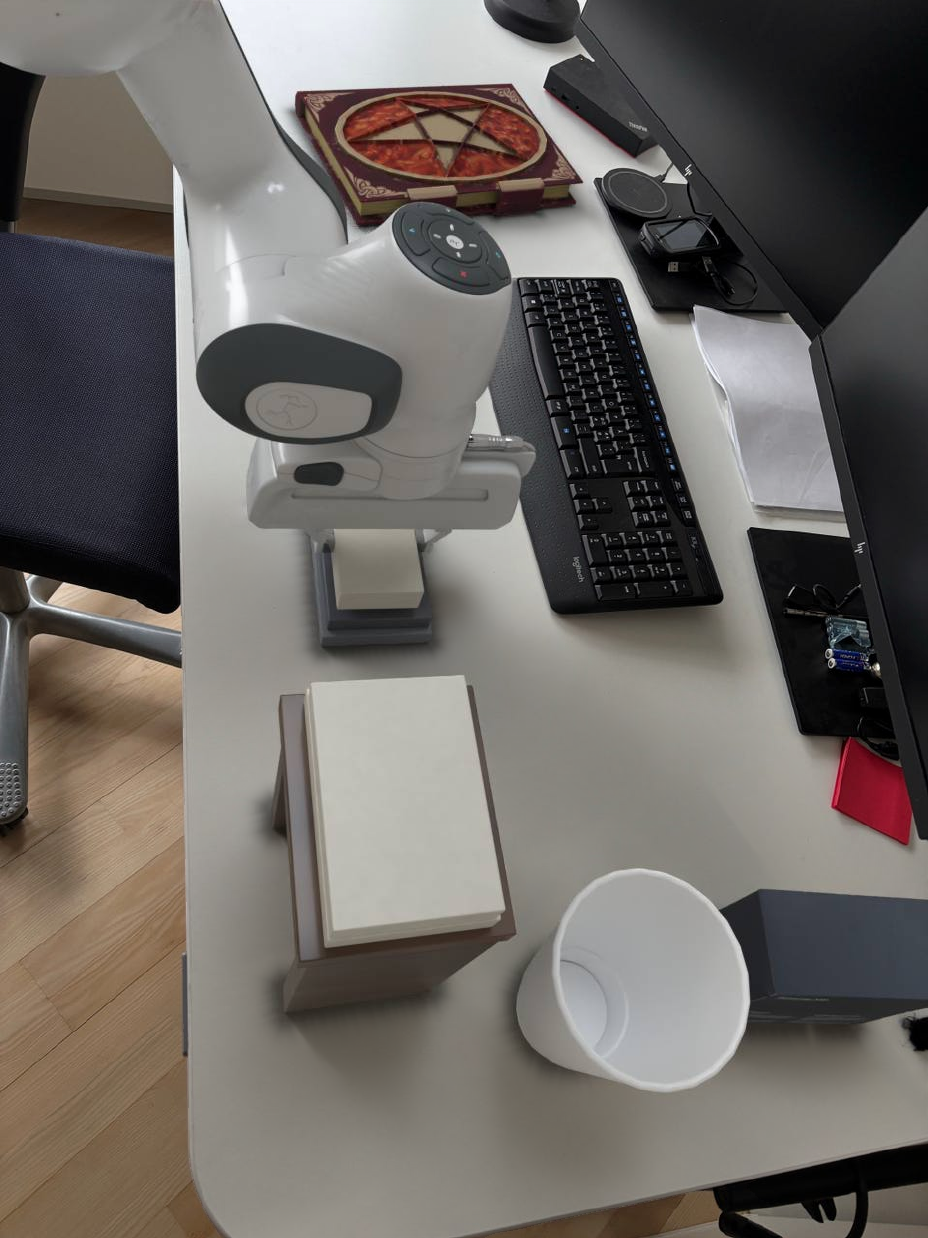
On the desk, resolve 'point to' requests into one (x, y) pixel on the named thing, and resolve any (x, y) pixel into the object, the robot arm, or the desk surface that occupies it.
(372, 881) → the white books
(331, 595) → the grey books
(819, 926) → the small box
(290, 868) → the walnut shelf
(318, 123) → the book
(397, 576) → the ivory book
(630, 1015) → the cup
